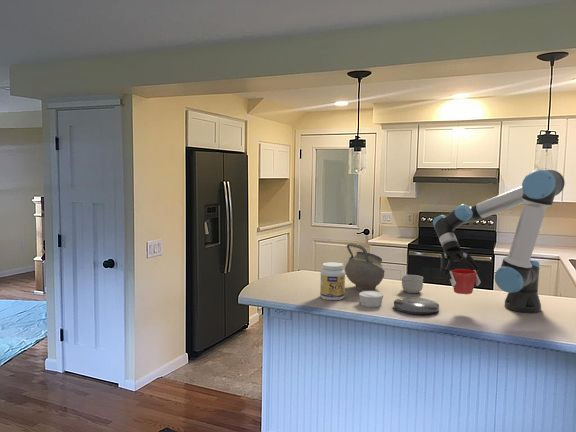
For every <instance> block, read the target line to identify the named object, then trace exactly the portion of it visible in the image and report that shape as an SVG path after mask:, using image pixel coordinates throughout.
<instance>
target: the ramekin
mask: <svg viewBox="0 0 576 432" xmlns="http://www.w3.org/2000/svg"><path fill="white" fill-rule="evenodd" d="M358 297H359V300H360V304H361V306H363V307H367V308H379V307H380V306H381V305H382V302H383V299H384V293H383V292H380V291H376V290H373V291H363V290H362V291H361V292H359V293H358Z"/></svg>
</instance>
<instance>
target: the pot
mask: <svg viewBox="0 0 576 432" xmlns="http://www.w3.org/2000/svg"><path fill="white" fill-rule="evenodd" d="M346 248H347V251H348V252H349V254H350V257H349V258H348V261H347V262H346V264H345V267H344V271H345V277H346V278H347V279H348V280H349V281H350V282H351V283H352V284H353V285H355V288H356V290H359V291H362V292H363V291H376V287H378V286H379V285H380V284H381V283H382V281H383V279H384V277H385V273H386V272H385V270H384V268H383V265H382V262H383V258H382V257H380V256H378V255H376V254H374V253H370V252H368V251H367V249H366V248H365V247H364V246H362V245H360V244H357V243H353V242H351V243H350V242H349V243H347V245H346ZM351 248H357V249H360V250H362V251H356V254H355V256H354V255H353V251H352V250H351Z"/></svg>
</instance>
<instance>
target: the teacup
mask: <svg viewBox="0 0 576 432" xmlns="http://www.w3.org/2000/svg"><path fill="white" fill-rule="evenodd" d="M401 287H402V289H403V291H405V293H408V294H419V293H420V292H421V291H422V290H423V288H424V276H421V275H418V274H417V275H416V274H405V275H403V276H401Z"/></svg>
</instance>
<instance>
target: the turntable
mask: <svg viewBox="0 0 576 432" xmlns="http://www.w3.org/2000/svg"><path fill="white" fill-rule="evenodd" d="M393 308H394V309H396V310H398V311H400V312H403V313H408V314H411V313H412V314H413V315H431V314H436V313H439V311H440V304H439V303H438V302H436V301H434V300H432V299H428V298H423V297H409V296H408V297H401V298H397V299H395V300H393Z"/></svg>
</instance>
